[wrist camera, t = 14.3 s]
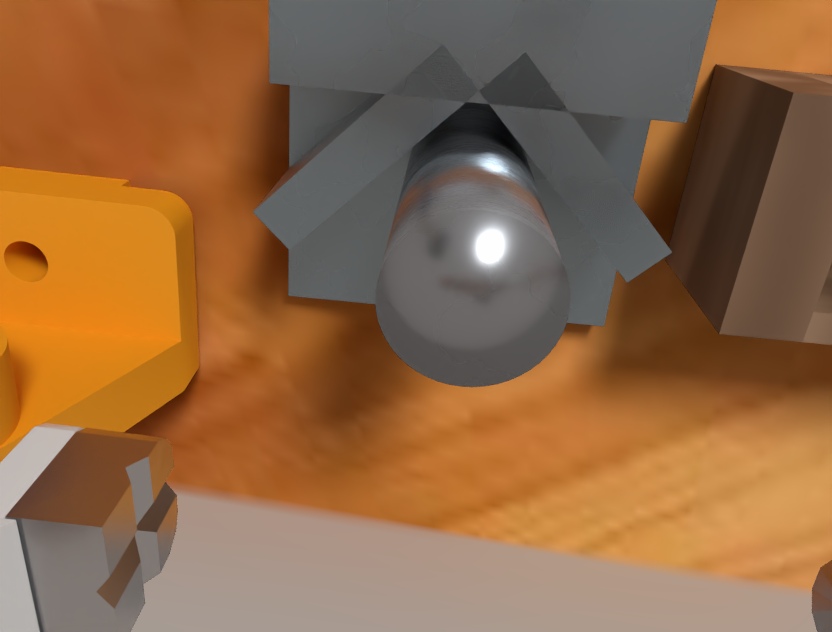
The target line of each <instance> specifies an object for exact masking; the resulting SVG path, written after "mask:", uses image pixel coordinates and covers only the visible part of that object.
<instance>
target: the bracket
mask: <svg viewBox="0 0 832 632" xmlns="http://www.w3.org/2000/svg"><path fill="white" fill-rule="evenodd" d="M198 368H199V344H198V321H197V298H196V275H195V252H194V229H193V216H192V213H191V210H190V208H189V207H188V205H187V204H186V202H185V201H184V200H183V199H181V198H180V197H179V196H177V195H176V194H174V193H171V192H168V191H163V190H154V189H144V188H135V187H130V181H129V180H123V179H113V178H104V177H95V176H86V175H76V174H67V173H58V172H49V171H39V170H30V169H21V168H12V167H3V166H0V462H1V461H2V460H3V459H4V458H5V457H6V456H7V455H8V454H9V453H10V452H11V451H12V449H13V448H14V447H15V446H16V445H17V444H18V443H19V442H20V441H21V440H22V439H23V438H24V437H25V436H26V435H27V434H28V433H29V432H30V430H31V429H32V428H34V427H35V426H38V425H41V424H44V423H51V424H59V425H67V426H75V427H81V428H94V429H101V430H109V431H116V432H125V431H126V430H128V429H129V428H131V427H132V426H133V425H135V424H136V423H138V422H139V421H141V420H142V419H144V418H145V417H147V416H148V415H150V414H151V413H152V412H154V411H155V410H157V409H158V408H160V407H161V406H163V405H164V404H166V403H167V402H168V401H170V400H171V399H173V398H174V397H176V396H177V395H179V394H180V393H182V392H183V391H184V390H185V388H186V387H187V385H188V384H189V382H190V381H191V379H192V377H193V376H194V374H195V373H196V371H197V370H198Z"/></svg>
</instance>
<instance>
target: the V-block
mask: <svg viewBox="0 0 832 632" xmlns="http://www.w3.org/2000/svg"><path fill="white" fill-rule="evenodd" d="M716 2H717V0H269V83H273V84H283V85H290V114H289V169H288V170H287V171H286V172H285V173H284V175H283V176H282V177H281V178H280V179H279V181H278V182H277V183H276V184H275V185H274V187H273V188H272V189H271V190H270V192H269V193H268V194H267V195H266V196H265V198H264V199H263V200H262V201H261V202H260V204H259V205H258V206H257V207H256V208H255V210H254V211H253V213H254V214H255V215H256V216H257V217H258V218H259V219H260V220H261V221H262V222H263V223H264V224H265V225H266V226H267V227H268V228H269V229H270V231H271V232H272V233H273V234H274V235H275V236H276V237H277V238H278V239H279V240H280V241H281V242H282V243H283V244H284V245H285V246H286V247H287V248H288V249H289V282H288V296H296V297H306V298H317V299H327V300H337V301H348V302H358V303H368V304H375V293H376V286H377V280H378V277H379V273H380V269H381V265H382V261H383V258H384V254H385V250H386V246H387V242H388V239H389V235H390V231H391V227H392V223H393V220H394V216H395V212H396V208H397V204H398V201H399V197H400V193H401V189H402V185H403V182H404V178H405V174H406V170H407V167H408V163H409V159H410V155H411V152H412V148H413V146H414V145H416V144H417V143H418V142H419V141H420V140H421V139H423V138H424V137H425V136H426V135H427V134H429V133H430V132H431V131H432V130H433V129H435V128H436V127H437V126H438V125H439V124H441V123H442V122H443V121H444V120H445V119H447V118H448V117H449V116H450V115H451V114H453V113H454V112H455V111H456V110H458V109H478V110H483V111H486V112H490V113H492V114H494V115H496V116H498V117H499V118H500V119H501V120H502V122H503V123H504V124H505V126H506V127H507V128H508V129H509V131H510V132H511V133H512V135H513V136H514V137H515V138H516V140H517V141H518V142H519V144H520V145H521V146H522V148H523V149H524V152H525V155H526V158H527V161H528V163H529V166H530V169H531V172H532V175H533V178H534V181H535V183H536V186H537V189H538V192H539V195H540V198H541V201H542V203H543V206H544V209H545V212H546V215H547V218H548V221H549V223H550V226H551V229H552V232H553V235H554V238H555V241H556V243H557V246H558V249H559V252H560V255H561V258H562V261H563V263H564V266H565V269H566V272H567V275H568V279H569V284H570V290H571V304H570V312H569V316H568V320H567V323H574V324H585V325H595V326H604V324H605V320H606V315H607V311H608V306H609V302H610V298H611V293H612V289H613V284H614V280H615V275H616V271H617V270H618V272H619V273H620V274H621V276H622V277H623V278H624V279H625V281H626V282H627V283H628V282H629V281H631V280H632V279H634V278H635V277H637V276H638V275H640V274H641V273H642V272H644V271H645V270H647V269H648V268H650V267H651V266H653V265H654V264H656V263H657V262H659V261H660V260H662V259H663V258H665V257H666V256H668V255H669V254H671V253H672V251H671V250H670V248H669V247H668V246H667V244H666V243H665V242H664V240H663V239H662V238H661V236H660V235H659V233H658V232H657V231H656V229H655V228H654V227H653V225H652V224H651V223H650V221H649V220H648V218H647V217H646V216H645V214H644V213H643V212H642V210H641V209H640V208H639V206H638V205H637V203H636V202H635V201H634V199H633V196H634V192H635V187H636V183H637V178H638V174H639V170H640V165H641V161H642V156H643V152H644V147H645V143H646V139H647V134H648V130H649V125H650V121H651V120H660V121H671V122H681V123H687V119H688V115H689V111H690V107H691V102H692V98H693V94H694V90H695V86H696V82H697V78H698V74H699V70H700V66H701V62H702V58H703V54H704V50H705V46H706V42H707V38H708V34H709V30H710V26H711V22H712V18H713V14H714V10H715V6H716Z"/></svg>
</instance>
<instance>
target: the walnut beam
mask: <svg viewBox="0 0 832 632" xmlns="http://www.w3.org/2000/svg"><path fill="white" fill-rule="evenodd" d="M669 248H670V250H671V251H672V253H671V254H669V255H668V256H666V262H667V263H668V265H669V266H670V267H671V269H672V270H673V271H674V273H675V274H676V276H677V277H678V278H679V280H680V281H681V282H682V284H683V285H684V287H685V288H686V289H687V291H688V292H689V293H690V295H691V296H692V298H693V299H694V300H695V302H696V303H697V304H698V306H699V307H700V308H701V310H702V311H703V313H704V314H705V315H706V317H707V318H708V319H709V321H710V322H711V324H712V325H713V326H714V328H715V329H716V330H717V332H718V333H719V334H724V335H734V336H744V337H754V338H765V339H775V340H785V341H796V342H806V343H816V344H827V345H832V75H821V74H811V73H800V72H790V71H779V70H769V69H758V68H747V67H737V66H726V65H716V66H715V70H714V74H713V78H712V82H711V85H710V89H709V93H708V97H707V101H706V105H705V109H704V113H703V116H702V120H701V124H700V128H699V132H698V136H697V140H696V144H695V148H694V151H693V155H692V159H691V163H690V167H689V171H688V175H687V179H686V182H685V186H684V190H683V194H682V198H681V202H680V206H679V210H678V214H677V217H676V221H675V225H674V229H673V233H672V237H671V241H670V245H669Z"/></svg>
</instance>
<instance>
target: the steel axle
mask: <svg viewBox="0 0 832 632" xmlns="http://www.w3.org/2000/svg"><path fill="white" fill-rule="evenodd" d="M570 304H571V290H570V284H569V279H568V275H567V272H566V269H565V266H564V263H563V261H562V258H561V255H560V252H559V249H558V246H557V243H556V241H555V238H554V235H553V232H552V229H551V226H550V223H549V221H548V218H547V215H546V212H545V209H544V206H543V203H542V201H541V198H540V195H539V192H538V189H537V186H536V183H535V181H534V178H533V175H532V172H531V169H530V166H529V163H528V161H527V158H526V155H525V152H524V149H523V148H522V146H521V145H520V144H519V142H518V141H517V140H516V138H515V137H514V136H513V135H512V133H511V132H510V131H509V129H508V128H507V127H506V126H505V124H504V123H503V122H502V120H501V119H500V118H499V117H498V116H496V115H494V114H492V113H490V112H486V111H483V110H478V109H458V110H456V111H455V112H454V113H453V114H451V115H450V116H449V117H448V118H447V119H445V120H444V121H443V122H442V123H441V124H439V125H438V126H437V127H436V128H435V129H433V130H432V131H431V132H430V133H429V134H427V135H426V136H425V137H424V138H423V139H421V140H420V141H419V142H418V143H417V144H416V145H414V146H413V148H412V152H411V155H410V159H409V163H408V167H407V170H406V174H405V178H404V182H403V185H402V189H401V193H400V197H399V201H398V204H397V208H396V212H395V216H394V220H393V223H392V227H391V231H390V235H389V239H388V242H387V246H386V250H385V254H384V258H383V261H382V265H381V269H380V273H379V277H378V280H377V286H376V293H375V306H376V313H377V318H378V321H379V325H380V328H381V330H382V332H383V335H384V337H385V339H386V340H387V342H388V343H389V345H390V347H391V348H392V349H393V350H394V352H395V353H396V354H397V355H398V356H399V357H400V358H401V359H402V360H403V361H404V362H405V363H406V364H407V365H409V366H410V367H411V368H413V369H414V370H416V371H417V372H419V373H421V374H423V375H424V376H426V377H428V378H431V379H433V380H436V381H438V382H442V383H446V384H449V385H455V386H463V387H480V386H489V385H495V384H499V383H502V382H506V381H509V380H511V379H514V378H516V377H518V376H520V375H522V374H524V373H526V372H527V371H529V370H531V369H532V368H533V367H535V366H536V365H537V364H539V363H540V362H541V361H542V360H543V359H544V358H545V357H546V356H547V355H548V354H549V353H550V352H551V350H552V349H553V348H554V347H555V345H556V344H557V342H558V340H559V339H560V337H561V335H562V333H563V331H564V329H565V326H566V323H567V320H568V316H569V312H570Z"/></svg>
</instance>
